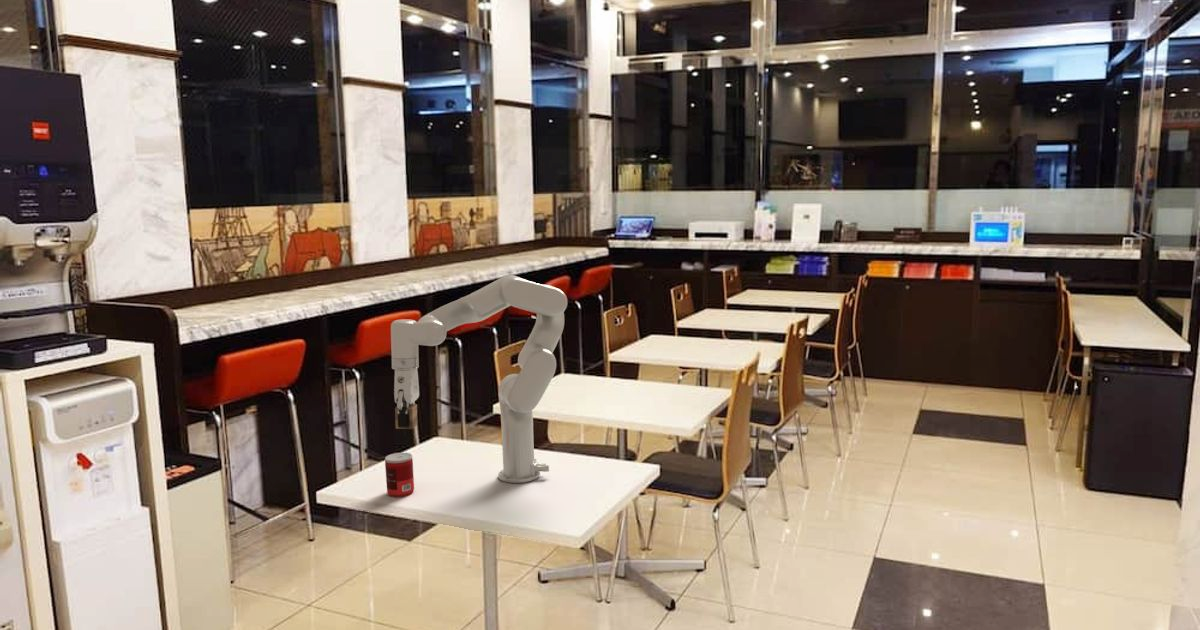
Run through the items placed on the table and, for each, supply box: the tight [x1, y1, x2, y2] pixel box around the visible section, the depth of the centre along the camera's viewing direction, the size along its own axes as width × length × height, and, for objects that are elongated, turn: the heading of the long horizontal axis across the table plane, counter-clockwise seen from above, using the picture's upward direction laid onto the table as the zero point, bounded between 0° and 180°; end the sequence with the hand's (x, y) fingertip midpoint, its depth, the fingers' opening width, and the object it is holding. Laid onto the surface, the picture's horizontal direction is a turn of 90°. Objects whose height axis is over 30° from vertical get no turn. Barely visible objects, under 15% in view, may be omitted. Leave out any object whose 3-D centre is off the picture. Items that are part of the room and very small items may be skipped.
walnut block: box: [394, 403, 418, 430], centre depth 248 cm, size 5×5×6 cm
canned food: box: [384, 452, 415, 498], centre depth 250 cm, size 8×8×11 cm
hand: (406, 423), depth 249 cm, fingers closed on walnut block, 5 cm apart
